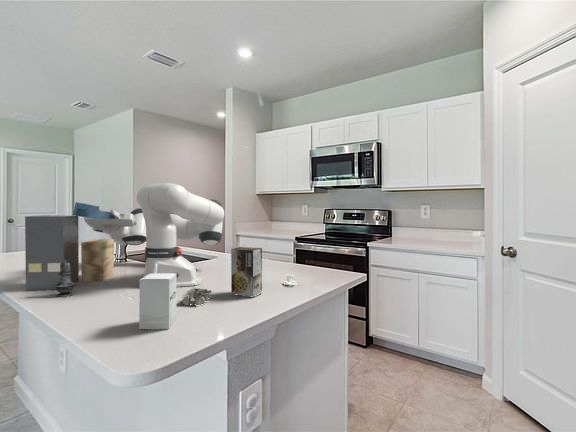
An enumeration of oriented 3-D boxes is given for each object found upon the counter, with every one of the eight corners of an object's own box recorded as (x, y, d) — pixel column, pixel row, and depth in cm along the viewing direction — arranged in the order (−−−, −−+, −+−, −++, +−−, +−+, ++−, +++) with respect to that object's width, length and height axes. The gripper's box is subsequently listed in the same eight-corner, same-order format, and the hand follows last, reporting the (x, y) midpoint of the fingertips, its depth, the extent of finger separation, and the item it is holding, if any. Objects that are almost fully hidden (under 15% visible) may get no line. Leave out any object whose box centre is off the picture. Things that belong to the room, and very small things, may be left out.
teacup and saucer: (293, 288, 124) (293, 278, 124) (275, 286, 128) (275, 275, 128) (304, 284, 131) (304, 274, 131) (287, 281, 136) (287, 272, 135)
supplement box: (169, 329, 81) (169, 278, 80) (138, 330, 80) (138, 278, 80) (177, 319, 88) (177, 272, 88) (148, 319, 88) (148, 272, 87)
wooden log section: (113, 274, 142) (113, 239, 142) (103, 281, 131) (103, 242, 130) (93, 275, 141) (93, 239, 140) (81, 281, 129) (81, 242, 129)
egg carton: (202, 307, 99) (202, 294, 99) (179, 306, 100) (179, 293, 100) (213, 298, 110) (213, 286, 110) (192, 297, 110) (192, 285, 110)
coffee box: (262, 293, 115) (263, 247, 115) (253, 298, 109) (253, 250, 109) (240, 290, 119) (241, 246, 119) (230, 294, 113) (230, 248, 113)
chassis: (78, 281, 129) (78, 215, 128) (63, 289, 117) (63, 216, 116) (44, 282, 127) (43, 215, 126) (25, 290, 115) (24, 216, 114)
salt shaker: (80, 293, 113) (79, 258, 112) (66, 297, 107) (66, 261, 106) (64, 292, 113) (63, 257, 113) (50, 297, 107) (49, 260, 107)
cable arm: (115, 219, 148) (118, 209, 149) (88, 217, 126) (91, 205, 127) (102, 217, 148) (105, 206, 149) (72, 214, 126) (75, 202, 127)
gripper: (136, 231, 156) (129, 217, 144) (89, 231, 152) (78, 216, 140) (138, 219, 159) (131, 205, 147) (92, 219, 155) (81, 204, 143)
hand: (104, 210), depth 143 cm, fingers closed on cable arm, 4 cm apart
